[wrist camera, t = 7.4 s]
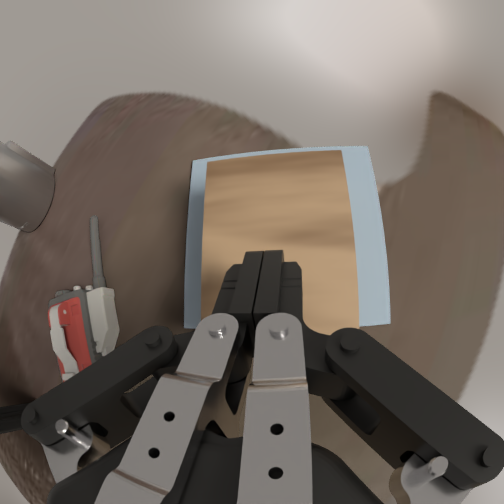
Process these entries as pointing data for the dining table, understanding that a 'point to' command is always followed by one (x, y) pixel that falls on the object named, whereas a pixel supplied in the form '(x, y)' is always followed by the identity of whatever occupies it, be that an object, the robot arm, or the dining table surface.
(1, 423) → the carrying case or bag
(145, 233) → the dining table surface
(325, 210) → the wood grain block
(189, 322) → the mat
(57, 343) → the walkie-talkie
